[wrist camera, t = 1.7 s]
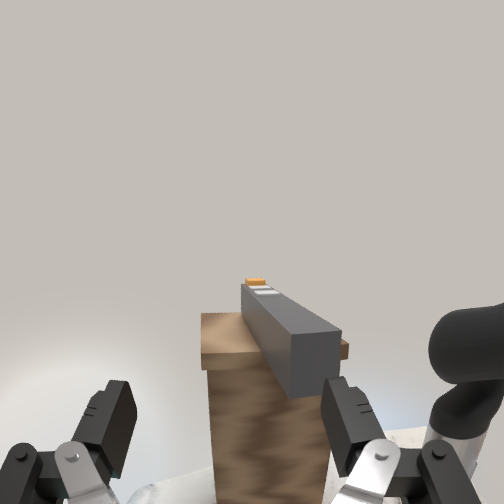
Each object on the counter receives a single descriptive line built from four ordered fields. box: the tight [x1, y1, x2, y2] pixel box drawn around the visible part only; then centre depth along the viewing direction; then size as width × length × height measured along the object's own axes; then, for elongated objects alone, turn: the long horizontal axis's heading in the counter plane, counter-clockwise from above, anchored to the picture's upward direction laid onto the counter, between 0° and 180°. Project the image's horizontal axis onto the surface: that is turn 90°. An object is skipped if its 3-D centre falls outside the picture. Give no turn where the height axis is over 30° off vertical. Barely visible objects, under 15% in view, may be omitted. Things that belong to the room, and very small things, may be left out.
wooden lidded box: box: [201, 313, 349, 504], centre depth 34 cm, size 13×16×32 cm
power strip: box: [241, 278, 342, 399], centre depth 29 cm, size 3×23×5 cm, turn 9°
